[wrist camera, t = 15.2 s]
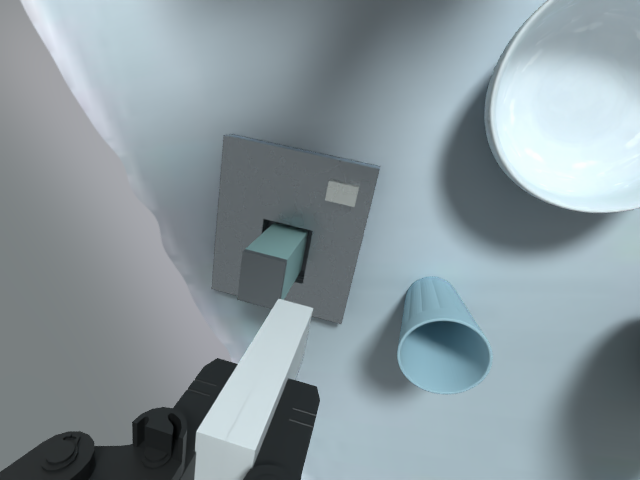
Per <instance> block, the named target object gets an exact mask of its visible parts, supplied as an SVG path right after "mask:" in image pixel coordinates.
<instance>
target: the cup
mask: <svg viewBox="0 0 640 480" xmlns="http://www.w3.org/2000/svg"><path fill="white" fill-rule="evenodd" d="M492 358H493V357H492V350H491V347H490V344H489V342H488V340H487V339H486V337H485V335H484V334H483V332H482V331H481V329H480V328H479V326H478V325H477V323H476V322H475V320H474V319H473V317H472V315H471V314H470V312H469V311H468V309H467V308H466V306H465V304H464V303H463V301H462V300H461V298H460V296H459V295H458V293H457V292H456V290H455V289H454V288H453V287H452V285H451V284H450V283H449V282H447V281H446V280H443V279H441V278H438V277H425V278H422V279H420V280H417V281H416V282H414V283H413V284H412V285H411V286H410V288H409V289H408V291H407V295H406V299H405V306H404V312H403V319H402V325H401V331H400V337H399V343H398V349H397V360H398V364H399V367H400V369H401V371H402V373H403V374H404V375H405V377H406V378H407V379H408V380H409V381H410V382H411V383H413V384H414V385H416V386H417V387H419V388H421V389H423V390H425V391H428V392H432V393H436V394H456V393H461V392H464V391H467V390H469V389H471V388H473V387H475V386H477V385H478V384H479V383H480V382H482V381H483V380H484V378H485V377H486V376H487V374H488V373H489V371H490V368H491V365H492Z"/></svg>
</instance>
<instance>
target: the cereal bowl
mask: <svg viewBox="0 0 640 480" xmlns="http://www.w3.org/2000/svg"><path fill="white" fill-rule="evenodd" d="M484 115H485V118H484V121H485V129H486V134H487V139H488V144H489V146H490V148H491V151H492V154H493V156H494V157H495V160H496V161H497V162H498V165H499V166H500V167H501V168H502V170H503V172H505V173H506V175H507V176H508V177H509V178H510V179H511V180H512V181H513V182H514V183H515V184H516V185H518V186H519V187H520V188H521V189H523V190H524V191H526V192H527V193H529V194H530V195H532V196H533V197H536V198H538V199H540V200H542V201H544V202H546V203H548V204H551V205H554V206H557V207H560V208H564V209H568V210H573V211H578V212H586V213H614V212H622V211H628V210H634V209H638V208H640V0H547V1H546V2H545V3H544V4H543V5H542V6H540V7H539V8H538V9H537V10H536V11H535V12H534V13H533V14H532V15H531V16H530V17H529V18H528V19H527V20H526V21H525V23H523V25H522V26H521V27H520V28H519V29H518V31H517V32H516V33H515V35H514V36H513V38H512V39H511V40H510V41H509V43H508V45H507V46H506V48H505V49H504V51H503V53H502V54H501V56H500V58H499V60H498V62H497V64H496V66H495V68H494V71H493V74H492V76H491V79H490V82H489V86H488V90H487V95H486V101H485V112H484Z"/></svg>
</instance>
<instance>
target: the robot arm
mask: <svg viewBox="0 0 640 480" xmlns="http://www.w3.org/2000/svg"><path fill="white" fill-rule="evenodd" d="M312 313H313V308H311V307H308V306H304V305H300V304H297V303H293V302H289V301H286V300H282V299H278V300H277V302H276V303H275V305H274V307H273V308H272V310H271V312H270V313H269V315H268V316H267V318H266V320H265V321H264V323H263V324H262V326H261V328H260V329H259V331H258V333H257V334H256V336H255V337H254V339H253V341H252V342H251V344H250V346H249V347H248V349H247V350H246V352H245V354H244V355H243V357H242V358H241V360H240V362H239V363H238V364H235V363H232V362H229V361H225V360H221V359H218V358H217V359H215V360H214V361H212V362H211V363H209V364H207V365H206V366H205V367H203V369H202V370H201V372H200V373H199V374H198V376H197V377H196V378H195V381H193V382H192V384H191V385H190V386H189V388H188V390H187V391H186V392H185V393H184V394H183V396H182V397H181V398H180V400H179V401H178V402H177V404H176V405H175V406H174V408H165V407H162V408H156V409H151V410H149V411H147V412H145V413H143V414H141V415H140V416H139V417H138V418H136V419H135V420H134V421H133V422H132V423H133V424H132V426H133V444H131V445H125V446H94V441H93V440H92V438H91V437H90V436H89V435H88V434H85V433H83V432H66V433H62V434H58V435H55V436H53V437H52V438H50V439H48V440H46V441H44V442H43V443H41V444H40V445H38V446H37V447H35V448H34V449H33V450H31V451H30V452H28V453H27V454H25V455H24V456H23V457H21V458H20V459H18V460H17V461H15V462H14V463H13V464H11V465H10V466H8V467H7V468H5V469H4V470H2V471H1V472H0V480H301V474H302V470H303V466H304V463H305V459H306V455H307V451H308V447H309V443H310V439H311V435H312V431H313V427H314V423H315V419H316V414H317V410H318V406H319V402H320V398H319V394H318V389H317V387H316V386H313V385H309V384H306V383H303V382H299V381H296V377H297V375H298V372H299V369H300V366H301V364H302V361H303V356H304V351H305V346H306V342H307V337H308V332H309V327H310V322H311V318H312Z"/></svg>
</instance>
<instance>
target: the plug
mask: <svg viewBox="0 0 640 480" xmlns="http://www.w3.org/2000/svg"><path fill="white" fill-rule="evenodd" d="M307 236H308V231H307V230H303V229H299V228H295V227H291V226H287V225H283V224H278V223H273V224H272V225H271V226H270V227H269V228H268V229H266V230H265V231H264V232H263V233H262V234H261V235H260V236H259V237H258V238H257V239H256V240H254V241H253V242H252V243H251V244H250V245H249V246H248V247H247V248H246V249H245V250H244V251H243V253H242V261H241V270H240V279H239V288H238V297H237V299H238V300H242V301H245V302H249V303H253V304H256V305H260V306H263V307H267V308H271V309H272V308H273V307H274V305H275V303H276V302H277V300H278V299H282V300H284V299H285V297H286V295H287V294H288V292H289V290H290V288H291V287H292V285H293V283H294V282H295V280H296V278H297V277H298V275H299V273H300V271H301V268H302V263H303V257H304V252H305V246H306V241H307Z"/></svg>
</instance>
